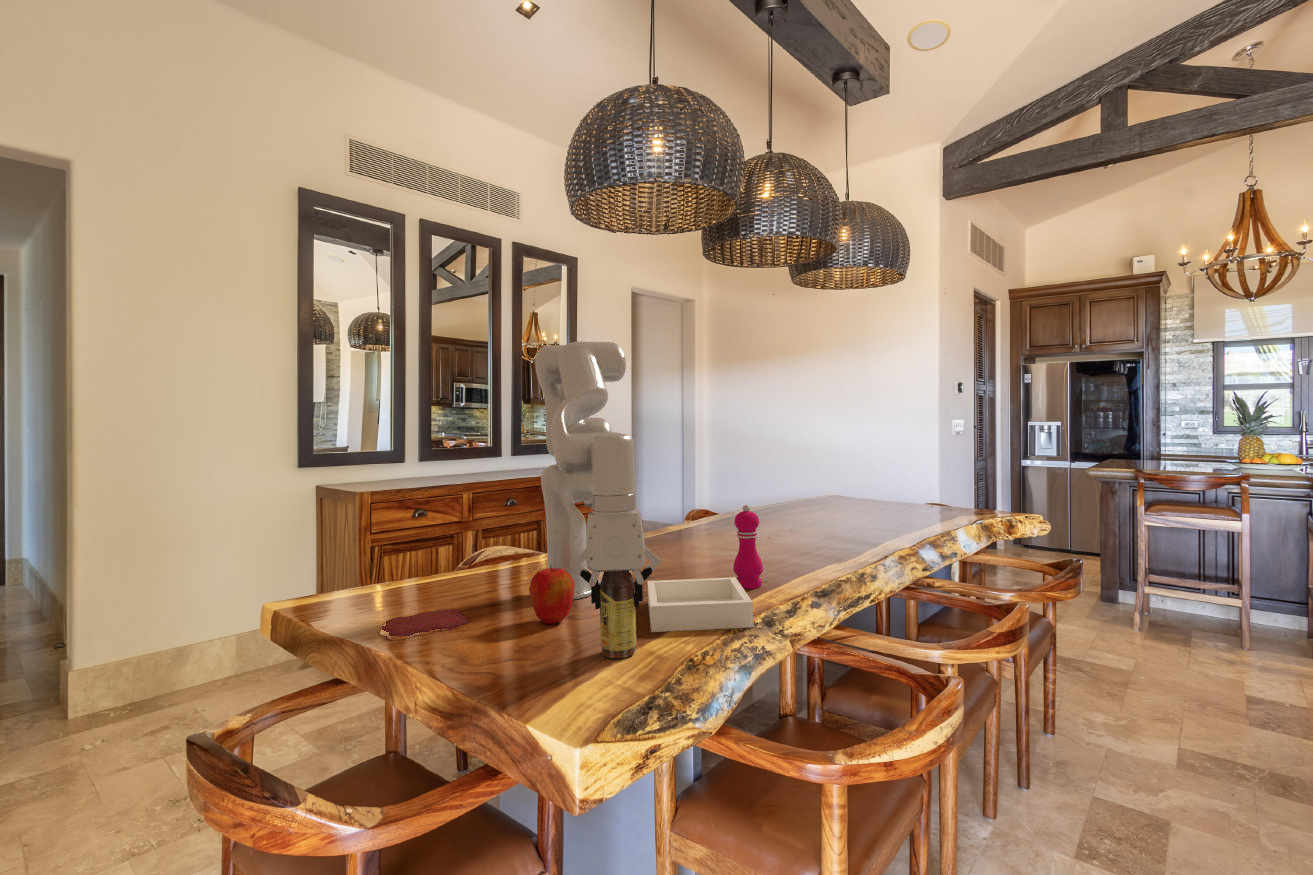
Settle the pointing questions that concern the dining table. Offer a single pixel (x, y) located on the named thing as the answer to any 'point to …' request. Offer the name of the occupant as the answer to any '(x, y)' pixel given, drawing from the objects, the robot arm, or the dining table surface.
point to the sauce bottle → (617, 614)
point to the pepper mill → (747, 550)
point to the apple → (552, 594)
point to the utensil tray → (698, 604)
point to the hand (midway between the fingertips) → (617, 605)
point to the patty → (425, 622)
